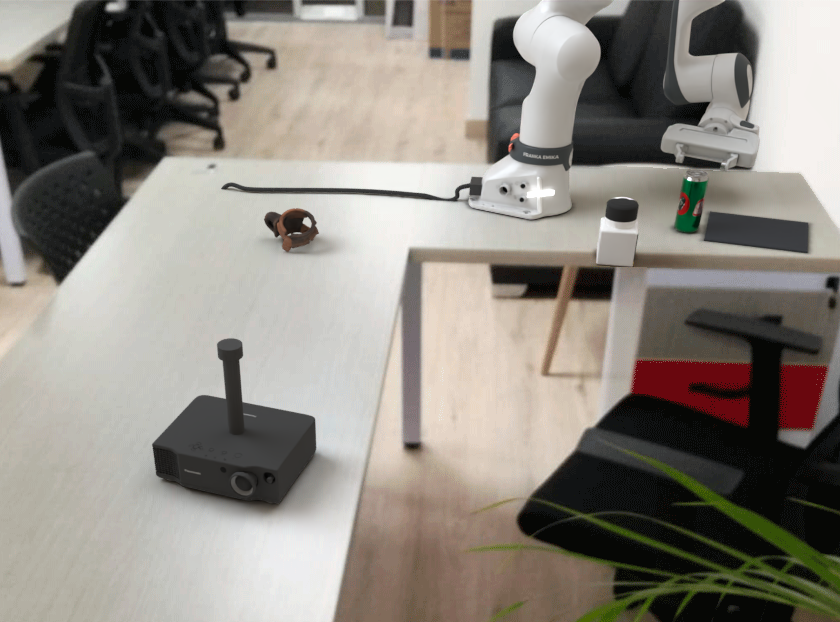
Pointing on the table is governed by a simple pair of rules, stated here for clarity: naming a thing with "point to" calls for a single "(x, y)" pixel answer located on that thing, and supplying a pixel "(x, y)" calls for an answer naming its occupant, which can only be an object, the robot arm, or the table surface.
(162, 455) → the projector
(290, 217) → the brown curved piece
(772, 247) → the desk pad
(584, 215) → the table surface
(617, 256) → the medicine bottle
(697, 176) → the soda can
